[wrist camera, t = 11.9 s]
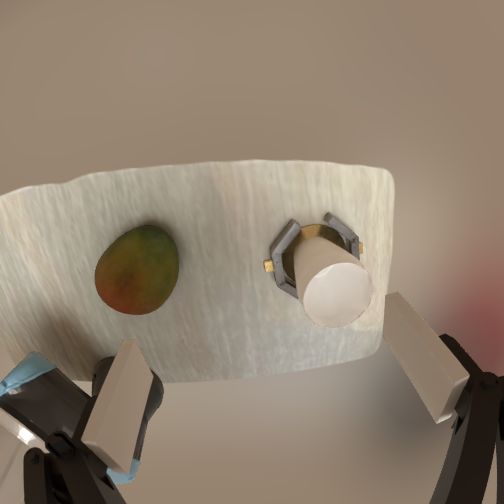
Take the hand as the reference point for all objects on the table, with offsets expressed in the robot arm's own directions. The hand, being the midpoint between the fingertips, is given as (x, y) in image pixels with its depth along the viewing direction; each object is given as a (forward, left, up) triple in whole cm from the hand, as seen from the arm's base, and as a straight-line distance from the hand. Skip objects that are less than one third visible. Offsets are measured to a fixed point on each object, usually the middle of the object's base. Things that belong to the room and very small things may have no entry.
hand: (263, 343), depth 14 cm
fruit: (-16, -4, -29) cm, 33 cm away
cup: (+9, -9, -29) cm, 31 cm away
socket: (+9, -9, -29) cm, 31 cm away
